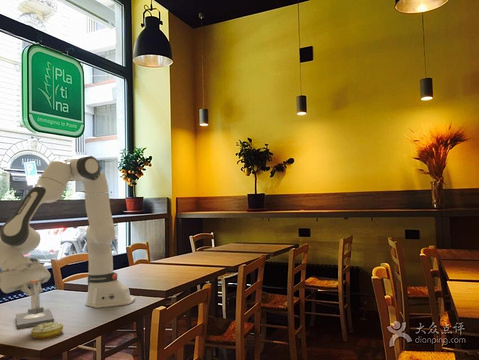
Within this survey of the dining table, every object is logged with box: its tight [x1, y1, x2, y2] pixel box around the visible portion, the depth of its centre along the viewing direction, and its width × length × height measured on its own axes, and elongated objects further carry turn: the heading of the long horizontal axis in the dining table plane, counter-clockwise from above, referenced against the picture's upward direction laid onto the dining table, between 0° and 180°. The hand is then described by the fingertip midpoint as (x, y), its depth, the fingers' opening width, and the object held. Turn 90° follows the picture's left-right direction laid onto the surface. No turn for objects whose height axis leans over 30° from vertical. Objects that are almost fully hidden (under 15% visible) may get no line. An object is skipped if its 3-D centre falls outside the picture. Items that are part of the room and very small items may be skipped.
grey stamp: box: [27, 279, 45, 314], centre depth 149 cm, size 4×4×12 cm
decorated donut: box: [31, 321, 64, 340], centre depth 142 cm, size 10×11×4 cm
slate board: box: [15, 308, 55, 330], centre depth 161 cm, size 18×13×2 cm
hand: (36, 293), depth 149 cm, fingers closed on grey stamp, 2 cm apart
